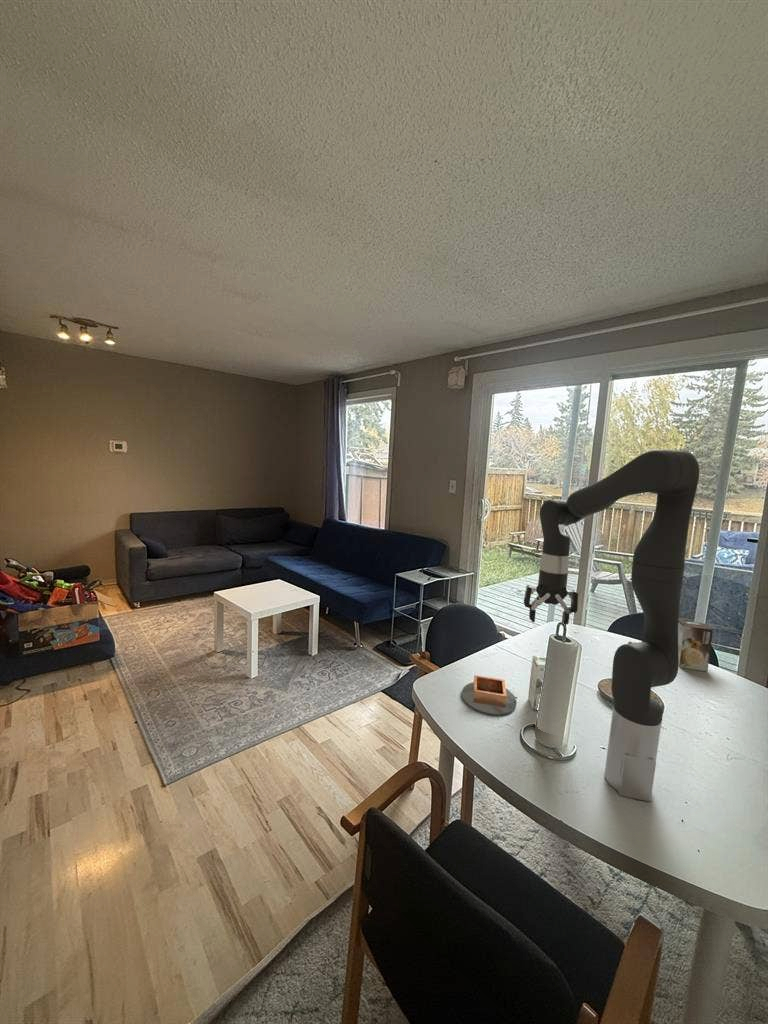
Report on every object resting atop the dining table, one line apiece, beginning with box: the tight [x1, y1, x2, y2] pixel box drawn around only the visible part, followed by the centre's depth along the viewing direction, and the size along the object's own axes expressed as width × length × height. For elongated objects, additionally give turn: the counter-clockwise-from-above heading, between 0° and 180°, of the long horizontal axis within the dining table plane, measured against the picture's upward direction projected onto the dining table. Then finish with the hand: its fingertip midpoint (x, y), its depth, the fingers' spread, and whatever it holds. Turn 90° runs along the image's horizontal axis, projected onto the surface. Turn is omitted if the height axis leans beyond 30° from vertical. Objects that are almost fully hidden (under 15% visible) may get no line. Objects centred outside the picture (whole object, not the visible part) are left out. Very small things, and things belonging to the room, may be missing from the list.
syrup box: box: [527, 655, 547, 711], centre depth 120 cm, size 6×6×14 cm
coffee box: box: [678, 619, 714, 672], centre depth 150 cm, size 9×6×16 cm
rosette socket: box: [461, 674, 517, 717], centre depth 123 cm, size 16×16×4 cm
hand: (548, 623), depth 118 cm, fingers open, 8 cm apart
